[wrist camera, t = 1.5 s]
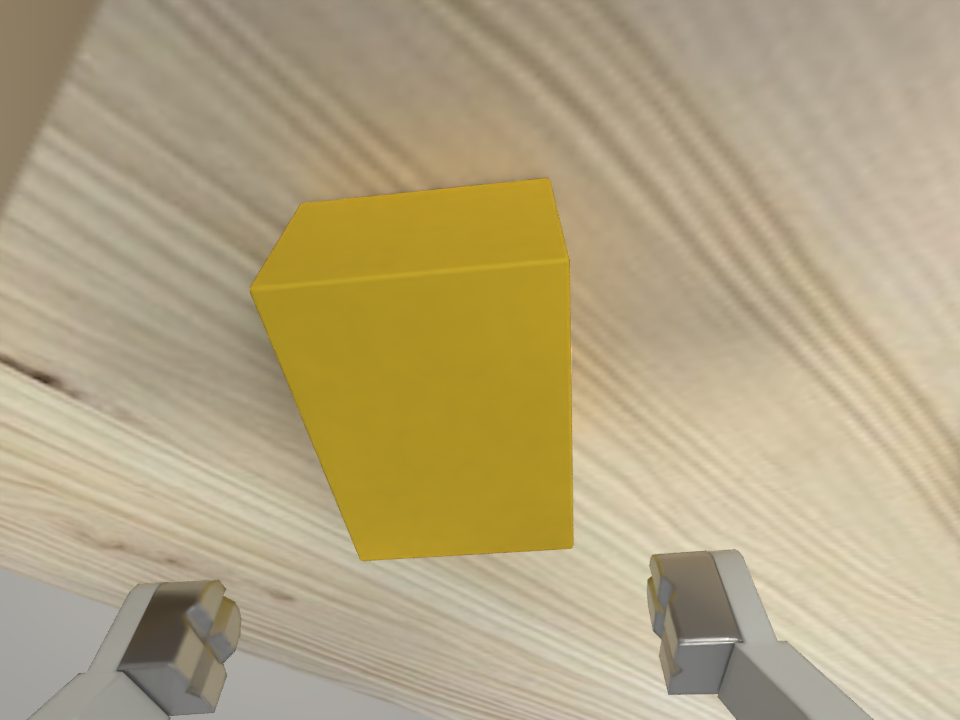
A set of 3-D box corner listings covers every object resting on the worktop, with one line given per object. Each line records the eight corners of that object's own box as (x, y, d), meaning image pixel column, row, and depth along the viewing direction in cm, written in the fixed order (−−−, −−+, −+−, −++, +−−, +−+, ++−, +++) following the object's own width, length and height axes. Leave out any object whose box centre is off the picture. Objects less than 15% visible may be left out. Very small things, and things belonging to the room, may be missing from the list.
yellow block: (299, 201, 14) (246, 289, 11) (549, 175, 14) (570, 258, 10) (379, 456, 19) (359, 562, 16) (558, 443, 19) (574, 550, 16)
